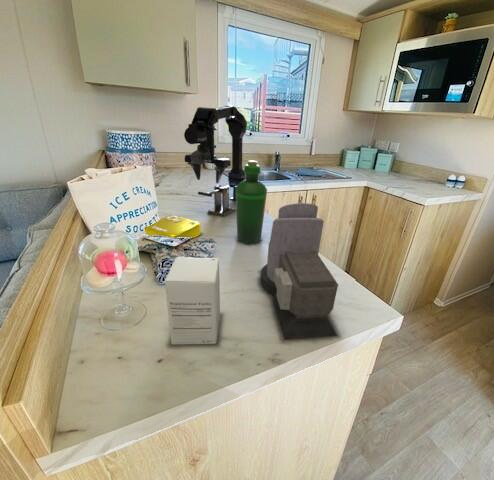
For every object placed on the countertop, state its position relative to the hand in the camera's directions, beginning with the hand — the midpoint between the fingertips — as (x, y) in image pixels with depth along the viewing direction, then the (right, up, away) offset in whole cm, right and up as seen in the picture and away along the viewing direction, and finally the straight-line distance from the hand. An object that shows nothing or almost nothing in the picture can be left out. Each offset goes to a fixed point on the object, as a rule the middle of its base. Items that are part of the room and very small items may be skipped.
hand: (207, 181), depth 115 cm
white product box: (+11, -44, -57) cm, 73 cm away
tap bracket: (+4, -12, +10) cm, 16 cm away
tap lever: (+2, -5, +1) cm, 6 cm away
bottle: (+19, -25, -15) cm, 34 cm away
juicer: (+33, -39, -44) cm, 67 cm away
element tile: (-9, -23, -17) cm, 30 cm away
